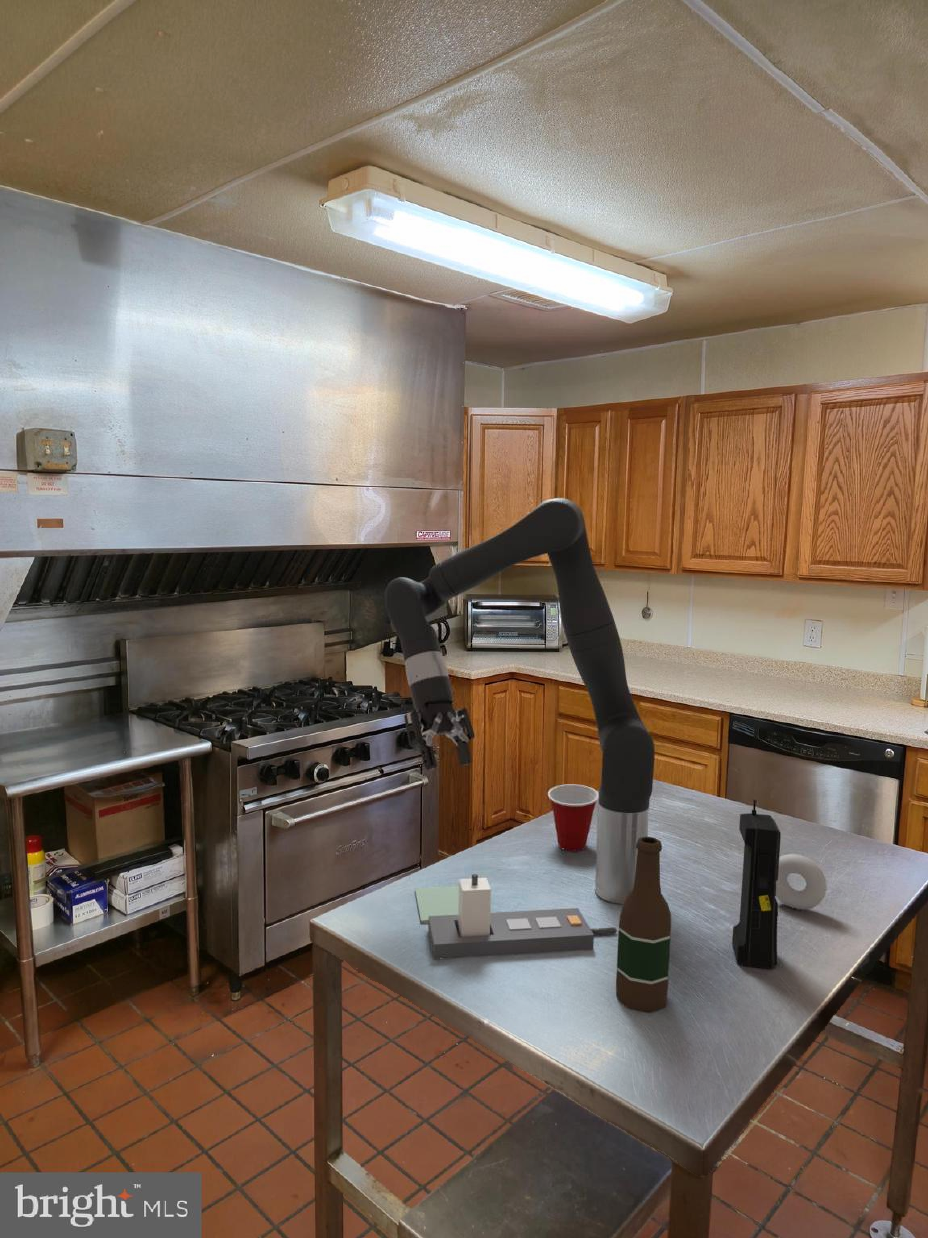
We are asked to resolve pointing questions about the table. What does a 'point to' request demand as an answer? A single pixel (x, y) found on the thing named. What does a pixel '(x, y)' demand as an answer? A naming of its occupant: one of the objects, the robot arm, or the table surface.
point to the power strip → (515, 934)
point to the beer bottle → (644, 935)
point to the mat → (437, 901)
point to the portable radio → (758, 892)
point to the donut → (812, 876)
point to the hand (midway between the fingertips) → (449, 766)
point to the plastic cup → (573, 814)
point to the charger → (474, 907)
